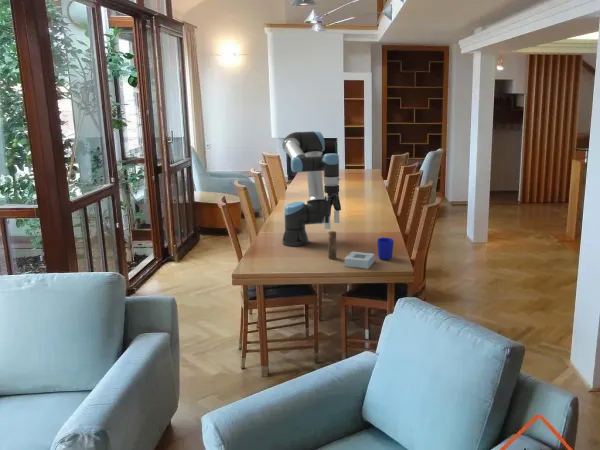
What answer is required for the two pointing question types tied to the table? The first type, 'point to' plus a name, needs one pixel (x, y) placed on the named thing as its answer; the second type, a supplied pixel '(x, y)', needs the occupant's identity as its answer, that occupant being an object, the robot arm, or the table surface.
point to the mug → (385, 248)
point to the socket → (359, 260)
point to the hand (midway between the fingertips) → (332, 225)
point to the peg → (332, 244)
